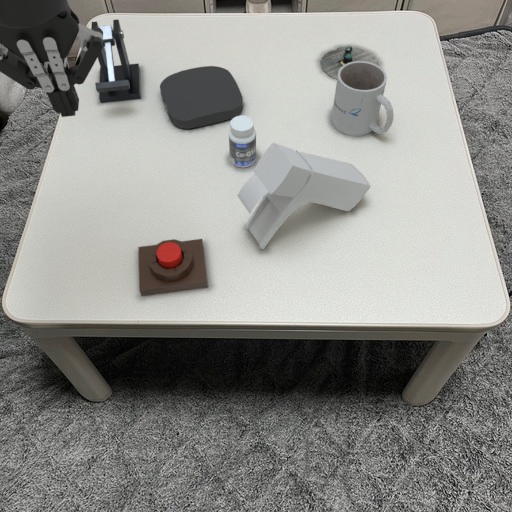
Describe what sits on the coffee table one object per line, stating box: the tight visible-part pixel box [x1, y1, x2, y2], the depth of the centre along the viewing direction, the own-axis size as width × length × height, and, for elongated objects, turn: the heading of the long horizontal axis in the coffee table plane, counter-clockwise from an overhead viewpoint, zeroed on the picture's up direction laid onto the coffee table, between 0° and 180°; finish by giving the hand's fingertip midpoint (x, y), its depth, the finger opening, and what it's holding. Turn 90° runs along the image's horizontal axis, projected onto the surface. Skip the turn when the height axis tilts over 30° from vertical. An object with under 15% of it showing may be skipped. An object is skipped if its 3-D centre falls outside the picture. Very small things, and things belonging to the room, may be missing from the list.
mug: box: [331, 61, 394, 137], centre depth 94 cm, size 12×9×10 cm
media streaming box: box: [159, 65, 244, 129], centre depth 101 cm, size 15×15×3 cm
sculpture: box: [319, 45, 381, 80], centre depth 109 cm, size 12×9×8 cm
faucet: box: [236, 141, 371, 250], centre depth 81 cm, size 6×16×20 cm
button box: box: [138, 238, 209, 297], centre depth 79 cm, size 10×8×4 cm
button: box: [157, 242, 182, 268], centre depth 77 cm, size 4×4×2 cm
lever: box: [94, 24, 130, 93], centre depth 96 cm, size 12×6×2 cm, turn 9°
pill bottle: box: [228, 115, 257, 168], centre depth 90 cm, size 5×5×8 cm
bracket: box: [90, 18, 142, 104], centre depth 101 cm, size 10×8×13 cm
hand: (69, 111), depth 61 cm, fingers closed
